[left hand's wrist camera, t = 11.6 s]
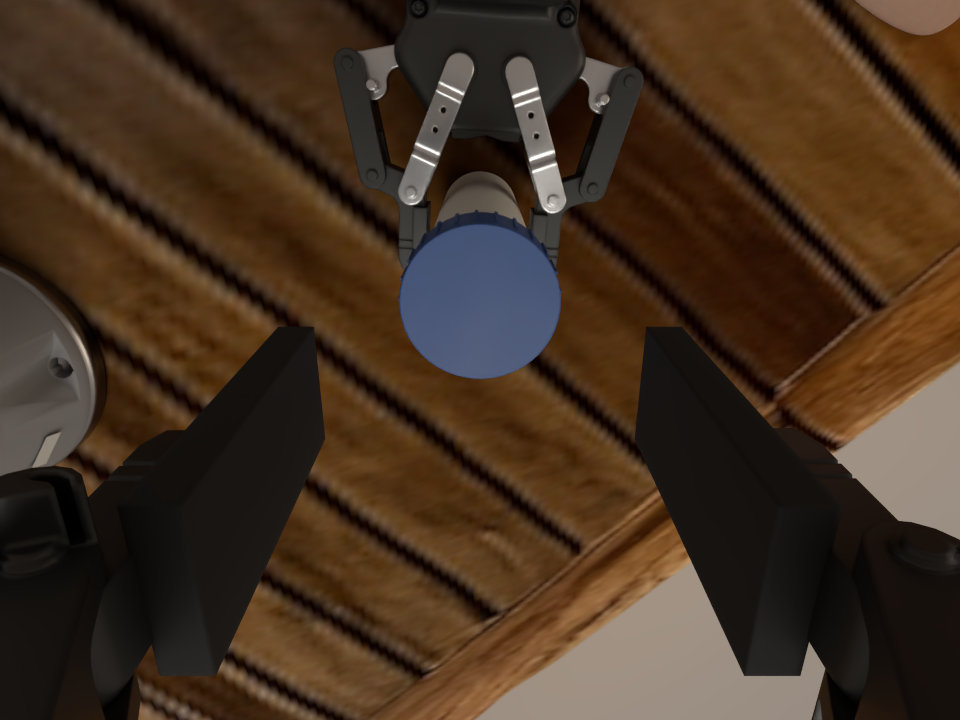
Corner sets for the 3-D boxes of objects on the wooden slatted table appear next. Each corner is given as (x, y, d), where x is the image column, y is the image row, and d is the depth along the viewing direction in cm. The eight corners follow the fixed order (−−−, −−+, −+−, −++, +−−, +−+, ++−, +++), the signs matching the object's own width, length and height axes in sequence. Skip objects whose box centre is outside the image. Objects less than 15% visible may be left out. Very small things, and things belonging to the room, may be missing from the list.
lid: (443, 181, 20) (439, 190, 18) (582, 251, 21) (594, 267, 19) (381, 318, 22) (371, 340, 20) (512, 377, 23) (515, 405, 21)
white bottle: (463, 158, 36) (447, 208, 19) (529, 191, 37) (572, 270, 20) (431, 225, 38) (390, 330, 20) (496, 257, 39) (509, 384, 21)
